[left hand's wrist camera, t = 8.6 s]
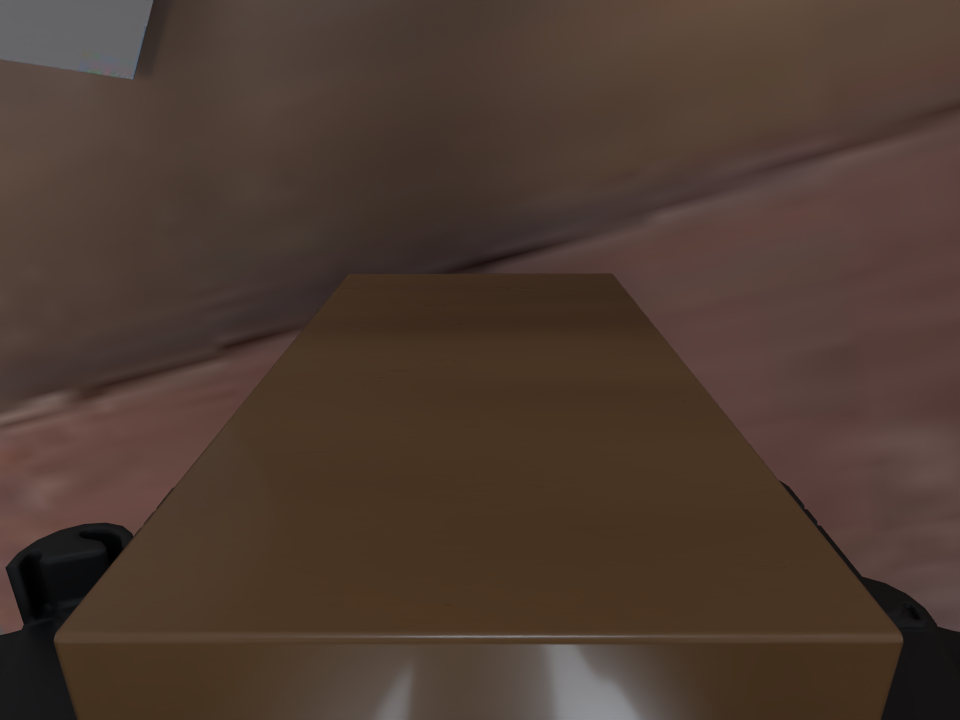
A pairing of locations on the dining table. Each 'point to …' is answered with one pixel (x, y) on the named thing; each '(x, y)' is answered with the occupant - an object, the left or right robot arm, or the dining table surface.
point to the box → (479, 535)
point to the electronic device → (75, 34)
